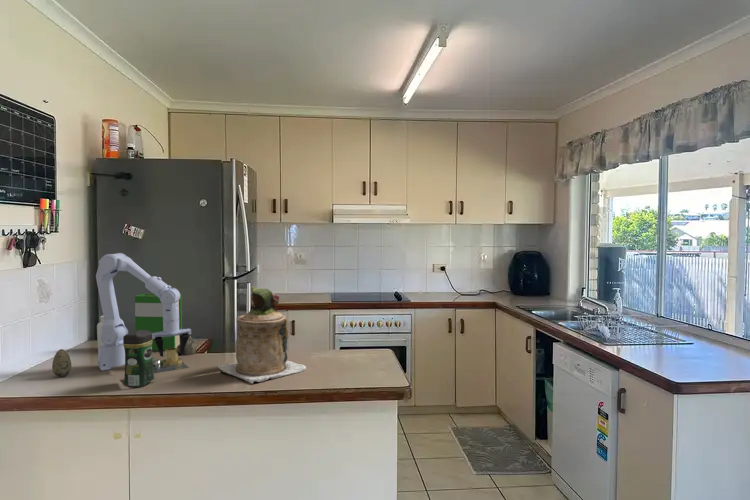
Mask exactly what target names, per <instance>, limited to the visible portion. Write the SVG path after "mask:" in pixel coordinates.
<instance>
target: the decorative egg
mask: <svg viewBox="0 0 750 500" xmlns="http://www.w3.org/2000/svg"><path fill="white" fill-rule="evenodd" d="M51 369H52V372H53V373H54V375H55V376H57V377H59V378H60V377H61V378H62V377H65V376H67V375H69V373H70V372H71V370H72V360H71V358H70V355H69V353H68V352H67V351H66V350H65V349H63V348H61V349H58V351H56V353H55V355H54V357H53V359H52V367H51Z"/></svg>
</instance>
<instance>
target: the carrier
mask: <svg viewBox="0 0 750 500" xmlns="http://www.w3.org/2000/svg"><path fill="white" fill-rule="evenodd" d="M152 360H153V370H154V374H158V373H159V374H160V373H166V372H170V371H177V370H184V369H189V368H190V367H189V366H188V365H187V364H186V363H184V362H183V361H182V364H180V365H176V366H175V365H171V366H163V365H162V360H161V359H157V358H156V357H152Z"/></svg>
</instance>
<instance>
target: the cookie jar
mask: <svg viewBox="0 0 750 500" xmlns="http://www.w3.org/2000/svg"><path fill="white" fill-rule="evenodd" d="M251 295H252V296H251V300H252V302H253V303H252V304H253V308H251V310H249V311H248V312H247V313H245V314H243V315H239V316H237V317H236V324H237V326H238V327H237V337H236V340H235V358H236V362H233V363H232V362H231V363H225V364H219V365H217V368H218V369H219V372H220V373H221V372H223V373H226V374H228V375H231V376H233V377H236V378H239V379H241V380H244V381H246V382H248V383H250V384H254V382H258V383H260V382H265V381H267V380H271V379H272V380H273V379H278V378H281V377H286V376H289V375H294V374H297V373H298V374H299V373H302V372H305V371H306V369H307V366H306V365H304V364H300V363H296V362H293V361H291V360H288V353H287V350H288V348H287V347H288V346H287V344H288V338H289V329H288V327H287V326H288V319H287V317H286V315H285V314H282V312H280V311H278V309H277V306H276V305H278V304H279V301H280V295H279V294H276V293H273V292H272V291H271V290H270V289H268V288H258V287H256V286H251Z"/></svg>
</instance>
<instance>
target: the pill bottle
mask: <svg viewBox="0 0 750 500" xmlns="http://www.w3.org/2000/svg"><path fill="white" fill-rule="evenodd" d="M99 321H100V322H98V323H97V325H96V335H97V336H96V337H97V348H98V347H99V346H103V345H104V343H103V342H102V340H101V334H102V328H101V327H102V325H103V323H104V317H103V315H101V316H99Z"/></svg>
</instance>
